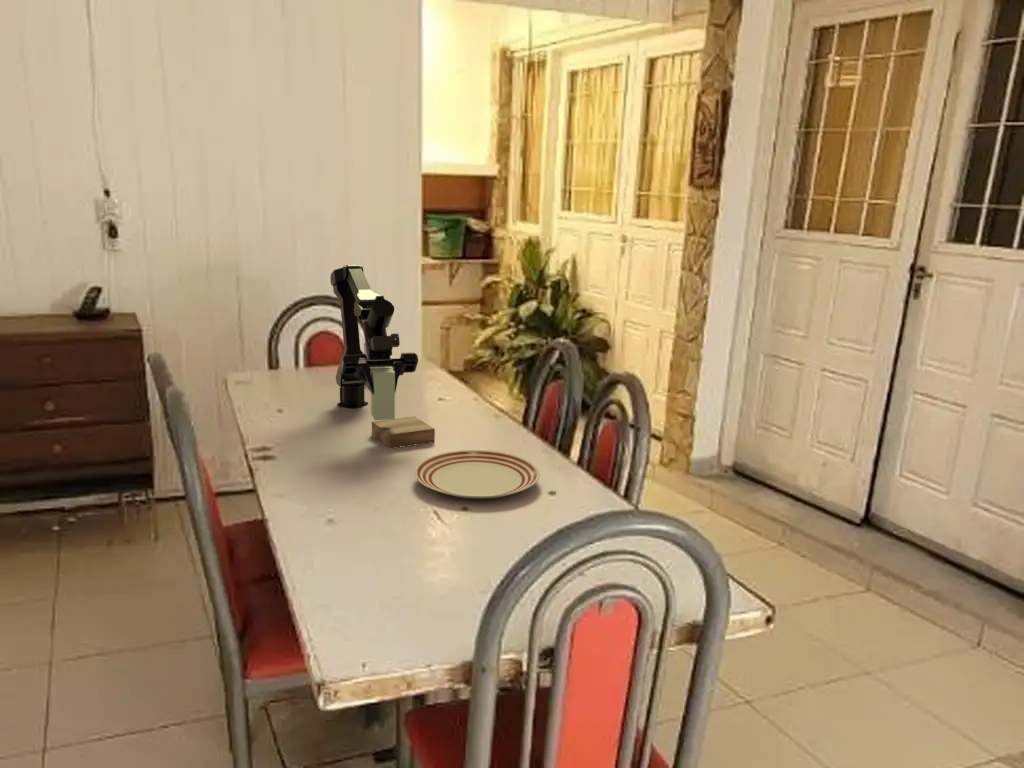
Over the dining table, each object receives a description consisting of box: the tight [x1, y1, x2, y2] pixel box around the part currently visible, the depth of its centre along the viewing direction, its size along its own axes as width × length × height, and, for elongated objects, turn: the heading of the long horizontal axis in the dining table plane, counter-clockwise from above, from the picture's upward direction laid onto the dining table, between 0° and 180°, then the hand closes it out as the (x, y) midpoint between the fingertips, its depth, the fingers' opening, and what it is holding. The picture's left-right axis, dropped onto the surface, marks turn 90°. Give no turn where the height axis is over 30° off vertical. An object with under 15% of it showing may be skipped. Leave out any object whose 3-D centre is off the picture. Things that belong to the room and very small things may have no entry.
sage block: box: [370, 367, 396, 421], centre depth 204 cm, size 5×5×12 cm
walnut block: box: [371, 416, 436, 449], centre depth 208 cm, size 12×12×4 cm
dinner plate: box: [413, 449, 541, 500], centre depth 180 cm, size 28×27×3 cm
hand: (384, 392), depth 202 cm, fingers closed on sage block, 5 cm apart
